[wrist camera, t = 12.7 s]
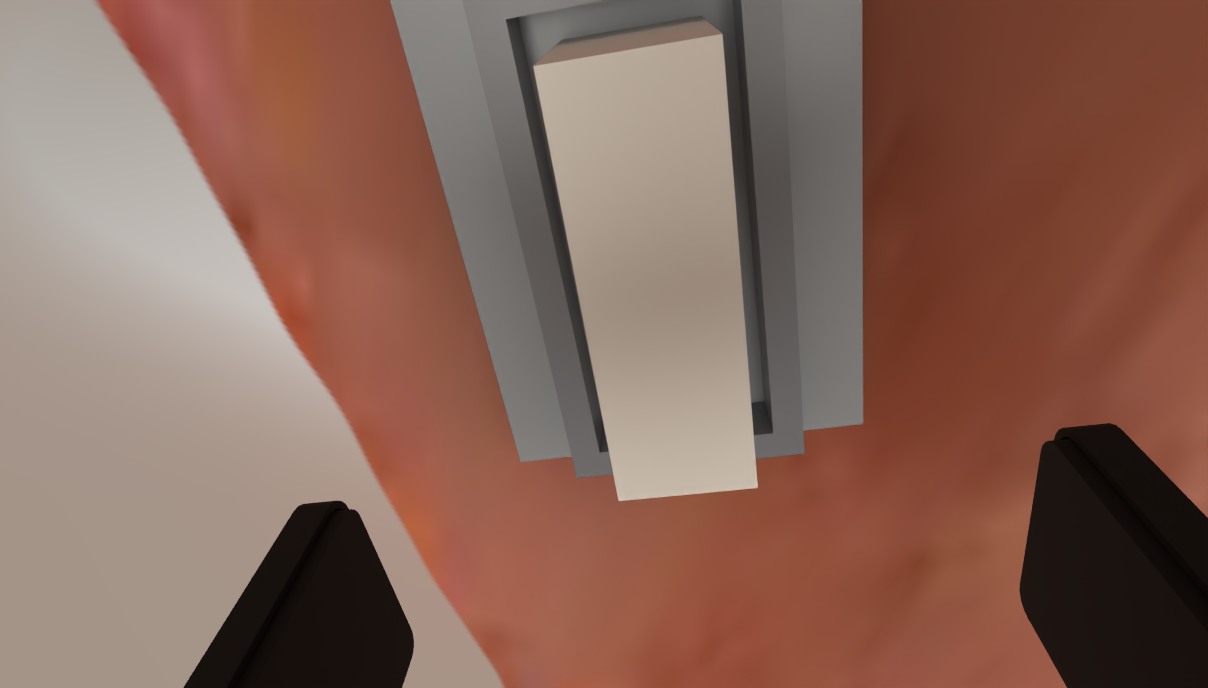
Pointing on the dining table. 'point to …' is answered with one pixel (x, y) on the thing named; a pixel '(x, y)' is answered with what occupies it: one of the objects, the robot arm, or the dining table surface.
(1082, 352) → the dining table surface
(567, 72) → the long beige rectangular prism
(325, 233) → the dining table surface
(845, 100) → the cradle
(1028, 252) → the dining table surface
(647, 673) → the dining table surface
